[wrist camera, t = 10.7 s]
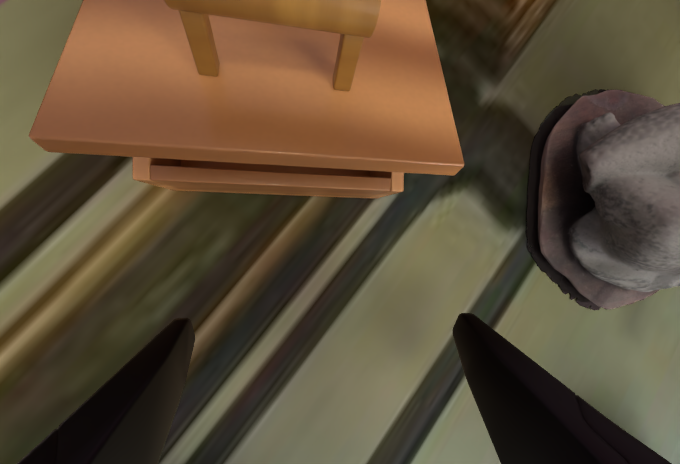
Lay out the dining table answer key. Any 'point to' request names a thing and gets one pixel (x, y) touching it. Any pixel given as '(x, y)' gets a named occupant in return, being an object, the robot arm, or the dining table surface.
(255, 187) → the chest
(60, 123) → the lid
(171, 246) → the dining table surface
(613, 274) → the angel statue
